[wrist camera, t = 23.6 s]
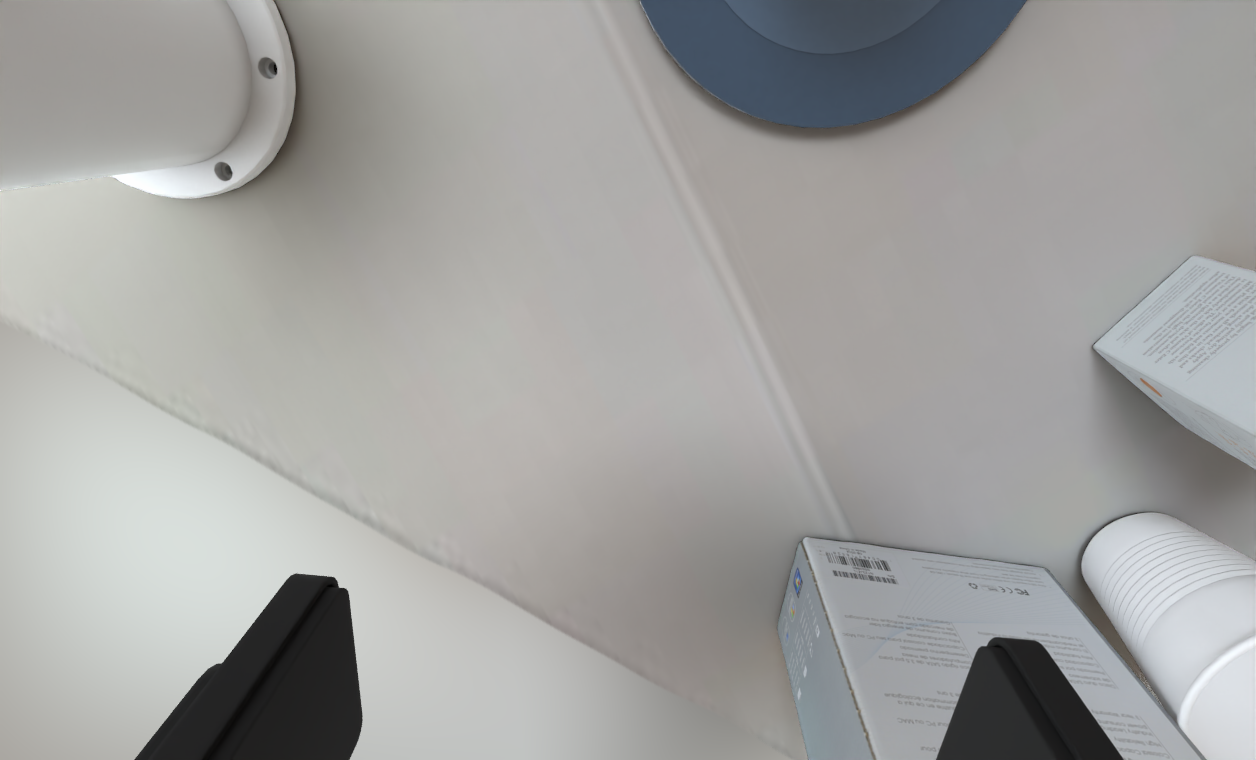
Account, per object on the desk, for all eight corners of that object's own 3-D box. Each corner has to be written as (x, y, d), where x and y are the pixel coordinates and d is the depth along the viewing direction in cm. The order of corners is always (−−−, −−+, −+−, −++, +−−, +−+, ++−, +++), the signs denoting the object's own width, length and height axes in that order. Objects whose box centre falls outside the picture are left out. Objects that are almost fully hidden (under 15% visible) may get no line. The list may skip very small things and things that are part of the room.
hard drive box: (773, 629, 43) (857, 1023, 25) (798, 532, 40) (916, 899, 22) (1009, 658, 43) (1269, 1072, 25) (1053, 564, 40) (1385, 956, 22)
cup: (1029, 515, 39) (1167, 662, 28) (1210, 455, 37) (1426, 589, 27) (1060, 636, 42) (1193, 806, 32) (1228, 587, 40) (1425, 750, 30)
